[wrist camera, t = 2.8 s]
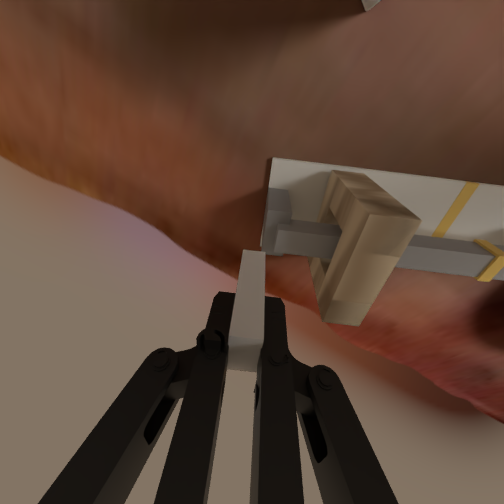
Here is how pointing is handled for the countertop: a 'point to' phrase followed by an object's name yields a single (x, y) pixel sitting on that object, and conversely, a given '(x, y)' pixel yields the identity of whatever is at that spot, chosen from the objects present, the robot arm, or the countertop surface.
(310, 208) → the rail
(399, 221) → the tan flat block
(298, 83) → the countertop surface
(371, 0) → the syrup box
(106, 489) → the robot arm
